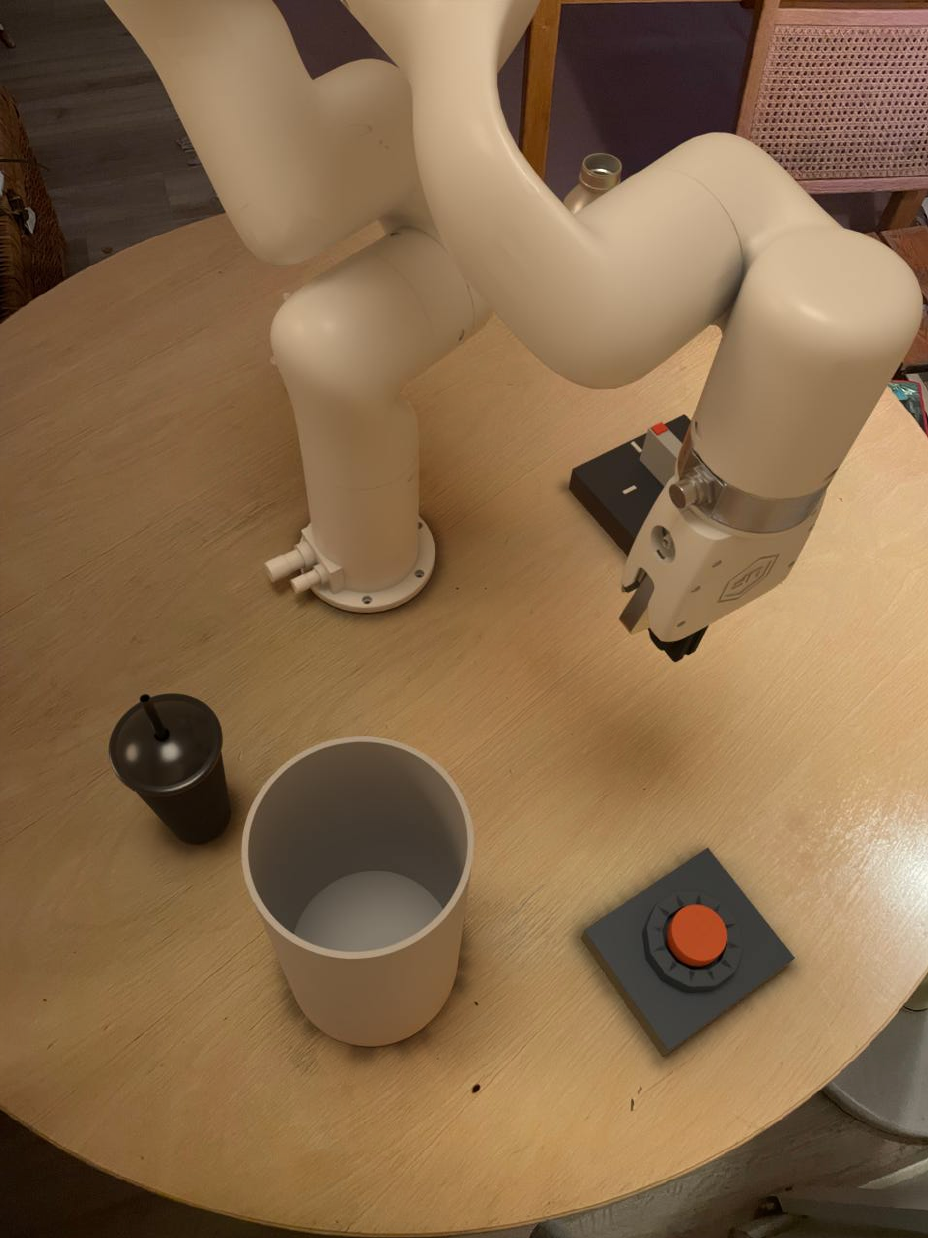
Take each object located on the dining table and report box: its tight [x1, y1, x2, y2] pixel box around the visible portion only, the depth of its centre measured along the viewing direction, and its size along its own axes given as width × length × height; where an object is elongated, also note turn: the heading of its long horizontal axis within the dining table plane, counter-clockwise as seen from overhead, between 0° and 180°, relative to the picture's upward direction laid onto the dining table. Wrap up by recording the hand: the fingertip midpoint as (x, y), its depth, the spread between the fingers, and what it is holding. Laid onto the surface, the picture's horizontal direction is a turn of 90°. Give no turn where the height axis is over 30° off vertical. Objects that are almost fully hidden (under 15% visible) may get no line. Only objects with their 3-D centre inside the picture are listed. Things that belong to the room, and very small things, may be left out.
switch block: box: [580, 847, 796, 1057], centre depth 77 cm, size 12×10×4 cm
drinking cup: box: [108, 692, 232, 845], centre depth 74 cm, size 8×8×20 cm
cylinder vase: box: [240, 735, 475, 1047], centre depth 67 cm, size 12×12×25 cm
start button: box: [667, 905, 727, 967], centre depth 75 cm, size 4×4×2 cm
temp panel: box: [568, 413, 692, 557], centre depth 101 cm, size 14×10×3 cm
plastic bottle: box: [562, 152, 623, 215], centre depth 106 cm, size 6×7×20 cm
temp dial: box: [640, 421, 682, 487], centre depth 97 cm, size 5×2×5 cm, turn 33°
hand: (669, 640), depth 69 cm, fingers closed
